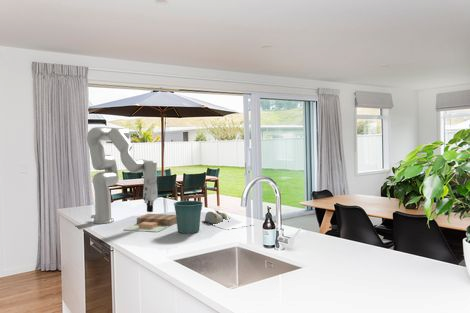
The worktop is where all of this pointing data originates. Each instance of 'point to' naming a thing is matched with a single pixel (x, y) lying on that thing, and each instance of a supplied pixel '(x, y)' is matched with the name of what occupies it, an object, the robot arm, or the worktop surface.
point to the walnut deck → (158, 219)
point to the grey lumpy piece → (214, 218)
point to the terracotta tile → (148, 225)
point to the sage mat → (136, 228)
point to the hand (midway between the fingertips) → (149, 211)
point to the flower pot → (188, 216)
